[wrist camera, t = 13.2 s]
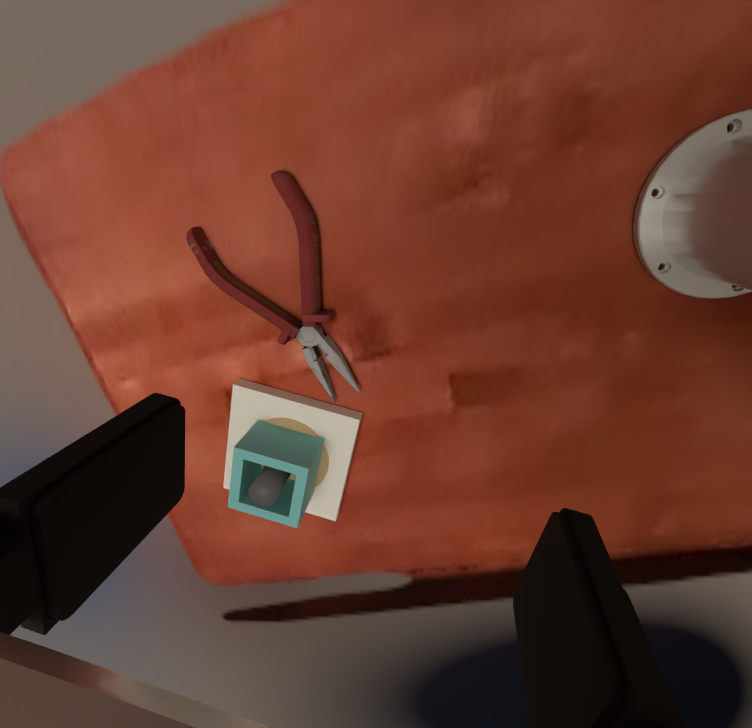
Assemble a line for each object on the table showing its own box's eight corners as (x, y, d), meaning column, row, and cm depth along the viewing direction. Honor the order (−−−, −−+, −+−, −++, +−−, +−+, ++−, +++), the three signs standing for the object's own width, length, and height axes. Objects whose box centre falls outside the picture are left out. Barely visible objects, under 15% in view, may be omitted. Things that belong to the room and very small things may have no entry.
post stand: (362, 412, 41) (345, 456, 33) (338, 511, 46) (319, 567, 38) (240, 378, 41) (197, 413, 34) (230, 479, 46) (191, 528, 39)
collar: (324, 439, 40) (308, 468, 36) (313, 493, 43) (297, 528, 38) (257, 420, 41) (233, 447, 36) (250, 475, 43) (227, 507, 39)
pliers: (303, 412, 42) (295, 424, 40) (191, 233, 37) (174, 234, 35) (401, 369, 39) (398, 379, 36) (292, 166, 34) (281, 162, 32)
